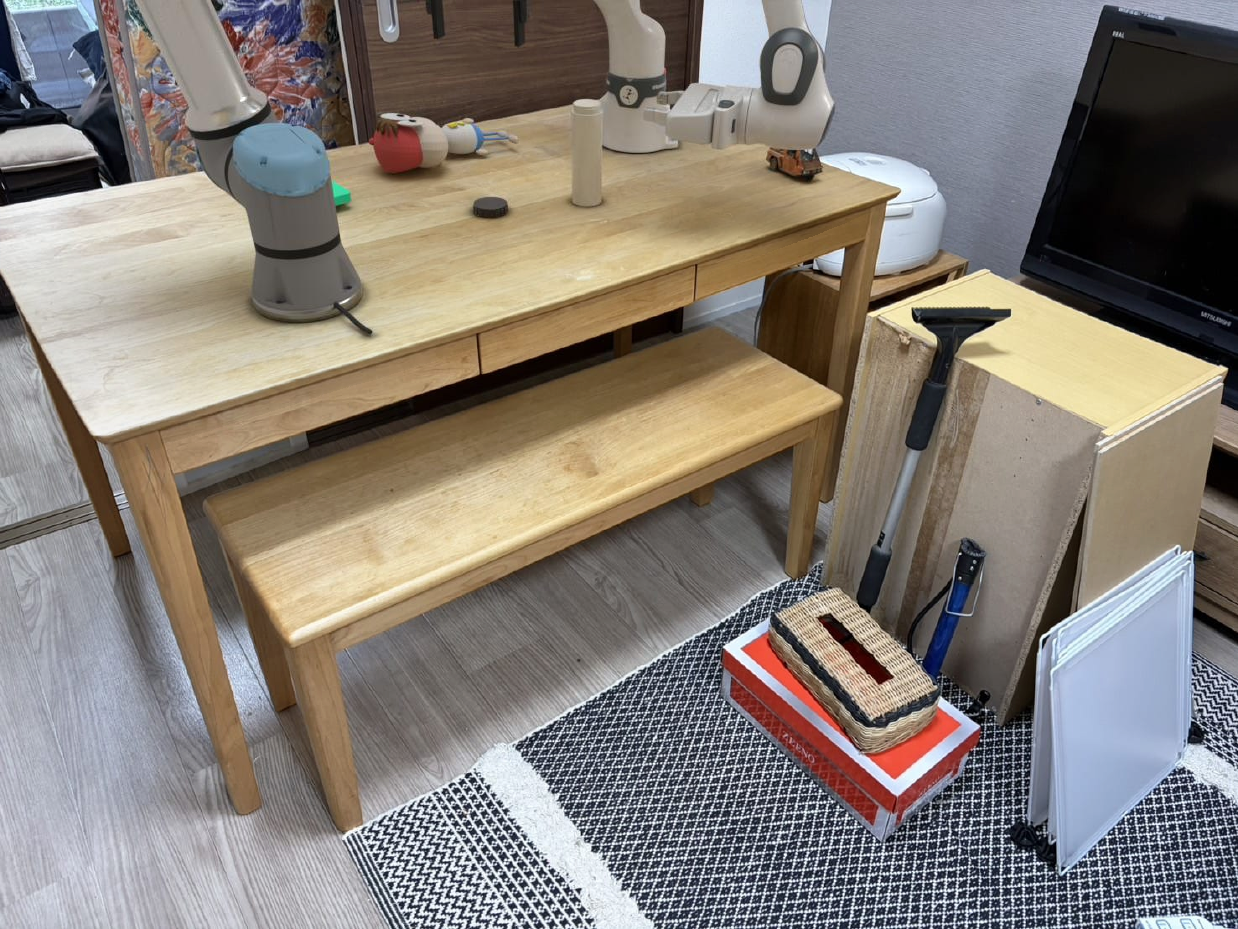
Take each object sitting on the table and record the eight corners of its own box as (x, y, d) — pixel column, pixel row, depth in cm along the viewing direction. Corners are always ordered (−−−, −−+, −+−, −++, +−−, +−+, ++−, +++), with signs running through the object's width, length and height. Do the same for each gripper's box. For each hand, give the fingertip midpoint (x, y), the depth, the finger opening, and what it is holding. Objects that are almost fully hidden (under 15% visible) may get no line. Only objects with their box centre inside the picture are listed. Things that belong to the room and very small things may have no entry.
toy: (535, 119, 180) (386, 123, 165) (533, 173, 185) (388, 181, 170) (493, 104, 193) (352, 106, 178) (493, 155, 198) (355, 160, 183)
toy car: (782, 160, 188) (786, 126, 183) (827, 178, 180) (833, 142, 176) (760, 167, 184) (764, 131, 180) (805, 184, 177) (810, 148, 173)
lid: (479, 203, 166) (479, 195, 165) (512, 206, 165) (512, 198, 164) (468, 216, 161) (468, 207, 160) (502, 219, 160) (502, 210, 159)
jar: (581, 193, 171) (581, 96, 161) (606, 199, 169) (608, 101, 159) (566, 202, 167) (565, 103, 157) (591, 208, 165) (592, 109, 155)
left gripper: (378, -120, 133) (396, 39, 146) (543, -111, 128) (546, 53, 141) (401, -125, 139) (416, 29, 151) (560, -116, 134) (561, 42, 146)
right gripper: (744, 78, 159) (666, 69, 161) (723, 112, 143) (637, 103, 146) (740, 115, 163) (663, 106, 165) (719, 153, 147) (635, 143, 149)
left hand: (479, 41), depth 146 cm, fingers open, 13 cm apart
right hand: (651, 105), depth 155 cm, fingers open, 8 cm apart
